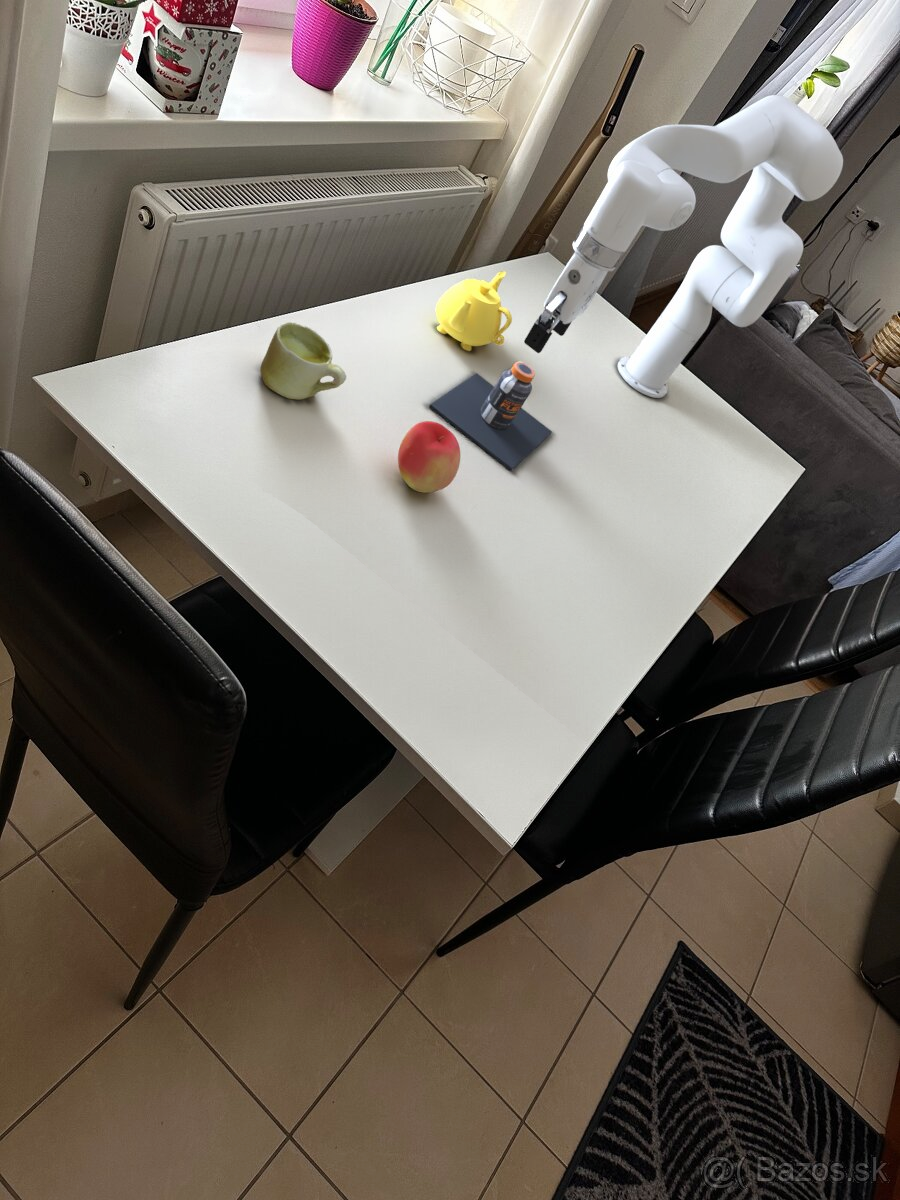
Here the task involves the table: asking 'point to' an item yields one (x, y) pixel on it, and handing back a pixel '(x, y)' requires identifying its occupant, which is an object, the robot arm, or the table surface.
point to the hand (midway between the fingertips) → (543, 338)
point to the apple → (428, 457)
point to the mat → (500, 443)
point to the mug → (299, 363)
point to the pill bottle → (508, 395)
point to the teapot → (473, 312)
